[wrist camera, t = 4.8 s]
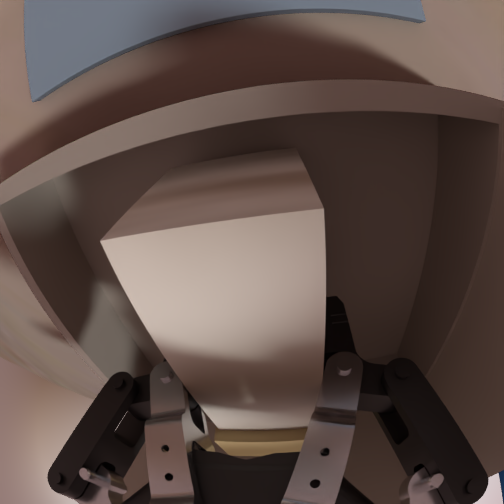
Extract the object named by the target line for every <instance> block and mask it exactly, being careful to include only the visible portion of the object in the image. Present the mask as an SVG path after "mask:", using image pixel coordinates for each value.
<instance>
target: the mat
mask: <svg viewBox="0 0 504 504" xmlns="http://www.w3.org/2000/svg"><path fill="white" fill-rule="evenodd" d="M290 13H351V14H363V15H373V16H381V17H388V18H395V19H401V20H406V21H411V22H416V23H422V22H425V21H426V19H425V15H424V11H423V8H422V4H421V0H25V3H24V37H25V53H26V63H27V72H28V80H29V86H30V92H31V98H32V102H36V101H40V100H41V99H43V98H44V97H46V96H47V95H49V94H50V93H52V92H53V91H55V90H56V89H58V88H60V87H61V86H63V85H64V84H66V83H68V82H69V81H71V80H73V79H75V78H76V77H78V76H80V75H82V74H83V73H85V72H87V71H89V70H91V69H93V68H95V67H97V66H99V65H101V64H103V63H105V62H107V61H109V60H111V59H113V58H115V57H117V56H120V55H122V54H124V53H127V52H129V51H131V50H134V49H136V48H139V47H141V46H144V45H146V44H149V43H152V42H155V41H157V40H160V39H163V38H166V37H169V36H172V35H176V34H179V33H182V32H186V31H189V30H193V29H197V28H201V27H205V26H209V25H213V24H218V23H223V22H228V21H233V20H239V19H245V18H251V17H259V16H267V15H277V14H290Z"/></svg>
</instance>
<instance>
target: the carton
mask: <svg viewBox="0 0 504 504" xmlns="http://www.w3.org/2000/svg"><path fill="white" fill-rule="evenodd" d="M287 148H296V149H297V151H298V153H299V156H300V158H301V160H302V162H303V164H304V166H305V168H306V170H307V172H308V174H309V176H310V179H311V181H312V183H313V185H314V187H315V190H316V192H317V194H318V196H319V198H320V201H321V203H322V205H323V208H324V220H325V248H326V296H327V297H331V296H337V297H338V298H339V299H340V300H341V301H342V302H343V303H344V307H345V310H346V315H347V318H348V322H349V325H350V329H351V333H352V337H353V341H354V345H355V349H356V352H357V354H358V355H359V356H360V357H361V358H362V359H363V360H365V361H367V362H370V363H374V364H384V365H387V364H388V363H389V362H390V361H392V360H393V359H396V358H407V359H410V360H411V361H413V362H414V363H415V364H416V365H417V366H418V368H419V369H420V371H421V372H422V373H423V375H424V376H425V378H426V379H427V380H428V382H429V383H430V385H431V386H432V387H433V389H434V390H435V392H436V393H437V395H438V396H439V397H440V399H441V400H442V402H443V403H444V405H445V406H446V408H447V409H448V411H449V412H450V414H451V415H452V417H453V418H454V420H455V421H456V423H457V424H458V426H459V428H460V429H461V431H462V432H463V434H464V436H465V437H466V439H467V440H468V442H469V444H470V445H471V447H472V449H473V450H474V452H475V454H476V455H477V457H478V459H479V460H480V462H481V464H482V466H483V467H484V469H485V471H486V473H487V475H488V477H490V476H492V475H494V474H497V473H499V472H501V471H503V470H504V101H501V100H497V99H494V98H490V97H487V96H483V95H479V94H475V93H471V92H466V91H461V90H457V89H451V88H446V87H440V86H433V85H426V84H419V83H410V82H399V81H386V80H361V79H338V80H313V81H298V82H287V83H278V84H270V85H262V86H255V87H249V88H243V89H237V90H231V91H226V92H221V93H216V94H212V95H207V96H203V97H199V98H194V99H190V100H187V101H183V102H179V103H175V104H172V105H168V106H165V107H162V108H158V109H155V110H152V111H149V112H146V113H143V114H140V115H137V116H134V117H131V118H129V119H126V120H123V121H120V122H118V123H115V124H113V125H110V126H108V127H105V128H103V129H100V130H98V131H96V132H93V133H91V134H89V135H86V136H84V137H82V138H80V139H78V140H76V141H73V142H71V143H69V144H67V145H65V146H63V147H61V148H59V149H57V150H55V151H54V152H52V153H50V154H48V155H46V156H44V157H42V158H41V159H39V160H37V161H35V162H34V163H32V164H30V165H28V166H27V167H25V168H23V169H22V170H20V171H19V172H17V173H15V174H14V175H12V176H11V177H9V178H8V179H6V180H5V181H3V182H2V183H0V233H1V235H2V237H3V239H4V241H5V243H6V245H7V247H8V250H9V251H10V253H11V255H12V257H13V259H14V261H15V263H16V265H17V267H18V268H19V270H20V272H21V274H22V276H23V277H24V279H25V281H26V282H27V284H28V286H29V287H30V289H31V291H32V292H33V294H34V295H35V297H36V298H37V300H38V302H39V303H40V305H41V306H42V308H43V309H44V311H45V312H46V313H47V315H48V316H49V318H50V319H51V320H52V322H53V323H54V325H55V326H56V327H57V329H58V330H59V331H60V333H61V334H62V335H63V337H64V338H65V339H66V340H67V342H68V343H69V344H70V345H71V347H72V348H73V349H74V350H75V351H76V353H77V354H78V355H79V356H80V357H81V359H82V360H83V361H84V362H85V363H86V364H87V365H88V367H89V368H90V369H91V370H92V371H93V372H94V373H95V374H96V375H97V376H98V377H99V378H100V380H101V381H102V382H103V383H104V384H106V383H107V381H108V380H109V378H110V377H111V376H112V375H114V374H115V373H117V372H122V371H124V372H128V373H129V374H130V375H131V376H132V377H133V378H135V377H139V376H144V375H148V374H151V371H152V370H153V368H154V367H155V366H156V365H158V364H159V363H162V362H163V361H164V358H165V357H164V356H163V354H162V353H161V351H160V350H159V348H158V346H157V345H156V343H155V342H154V340H153V339H152V337H151V335H150V334H149V332H148V331H147V329H146V327H145V326H144V324H143V322H142V321H141V319H140V317H139V316H138V314H137V312H136V310H135V309H134V307H133V305H132V303H131V302H130V300H129V298H128V296H127V294H126V292H125V291H124V289H123V287H122V285H121V283H120V281H119V279H118V277H117V275H116V273H115V271H114V269H113V267H112V265H111V263H110V261H109V259H108V257H107V255H106V253H105V251H104V249H103V246H102V244H101V242H100V240H101V239H102V238H103V237H104V236H105V235H106V233H107V232H108V231H109V230H110V229H111V228H112V227H113V226H114V225H115V224H116V222H117V221H118V220H119V219H120V218H121V217H122V216H123V215H124V214H125V213H126V212H127V211H128V210H129V209H130V208H131V207H132V206H133V205H134V204H135V203H136V202H137V201H138V200H139V199H140V198H141V197H142V196H143V195H144V194H145V193H146V192H147V191H148V190H149V189H150V188H151V187H152V186H153V185H154V184H155V183H156V182H157V181H158V180H159V179H160V178H161V177H162V176H164V175H165V174H166V173H167V172H168V171H169V170H170V169H171V168H175V167H180V166H184V165H189V164H194V163H199V162H204V161H209V160H214V159H220V158H225V157H231V156H237V155H243V154H250V153H256V152H263V151H271V150H279V149H287ZM204 413H205V412H204ZM205 419H206V424H207V429H208V434H209V437H210V439H211V441H212V443H213V446H214V449H215V452H220V453H223V454H227V453H226V452H225V451H224V450H223V449H222V448H221V447H220V446H219V445H218V444H217V443H216V442H215V441H214V436H215V429H216V425H215V424H214V423H213V421H212V420H211V419H210V418H209V417H208V415H207V414H206V413H205ZM227 455H228V454H227ZM234 457H237V458H241V459H252V458H256V457H261V456H234ZM343 476H344V477H345V478H346V479H347V480H348V481H349V482H350V483H351V484H352V485H354V486H355V487H356V488H357V489H358V490H359V491H360V492H362V493H363V494H364V495H365V496H366V497H367V498H369V499H370V500H371V501H372V502H373V503H375V504H400V503H401V502H400V497H399V488H400V485H401V484H402V482H403V481H404V479H405V478H407V477H408V476H407V474H406V472H405V470H404V469H403V467H402V465H401V463H400V461H399V459H398V457H397V455H396V454H395V452H394V450H393V448H392V446H391V444H390V443H389V441H388V439H387V437H386V435H385V433H384V432H383V430H382V428H381V426H380V424H379V423H378V421H377V419H376V417H375V416H374V414H373V412H369V411H360V410H357V411H356V424H355V429H354V434H353V439H352V443H351V447H350V452H349V456H348V460H347V464H346V468H345V471H344V475H343ZM123 480H124V482H125V485H126V486H127V492H126V493H125V494H123V502H124V501H125V500H126V499H128V498H129V497H130V496H132V495H133V494H134V493H136V492H137V491H138V490H139V489H141V488H142V487H143V486H144V485H146V484H147V483H148V482H149V476H148V467H147V456H146V443H144V444H143V446H142V448H141V449H140V451H139V453H138V455H137V456H136V458H135V460H134V461H133V463H132V465H131V467H130V468H129V470H128V472H127V473H126V475H125V477H124V479H123Z"/></svg>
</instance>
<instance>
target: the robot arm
mask: <svg viewBox="0 0 504 504" xmlns="http://www.w3.org/2000/svg"><path fill="white" fill-rule="evenodd" d="M357 410H360V411H369V412H373V414H374V416H375V417H376V419H377V421H378V423H379V424H380V426H381V428H382V430H383V432H384V433H385V435H386V437H387V439H388V441H389V443H390V444H391V446H392V448H393V450H394V452H395V454H396V455H397V457H398V459H399V461H400V463H401V465H402V467H403V469H404V470H405V472H406V474H407V476H408V477H407V478H405V479H404V481H403V482H402V484H401V485H400V488H399V497H400V502H401V503H400V504H473V503H475V502H476V501H478V500H479V499H480V498H481V497H482V496H483V494H484V493H485V491H486V488H487V486H488V475H487V473H486V471H485V469H484V467H483V466H482V464H481V462H480V460H479V459H478V457H477V455H476V454H475V452H474V450H473V449H472V447H471V445H470V444H469V442H468V440H467V439H466V437H465V436H464V434H463V432H462V431H461V429H460V428H459V426H458V424H457V423H456V421H455V420H454V418H453V417H452V415H451V414H450V412H449V411H448V409H447V408H446V406H445V405H444V403H443V402H442V400H441V399H440V397H439V396H438V395H437V393H436V392H435V390H434V389H433V387H432V386H431V385H430V383H429V382H428V380H427V379H426V378H425V376H424V375H423V373H422V372H421V371H420V369H419V368H418V366H417V365H416V364H415V363H414V362H413V361H411V360H410V359H407V358H396V359H393V360H392V361H390V362H389V363H388V364H387V365H384V364H374V363H370V362H367V361H365V360H363V359H362V358H361V357H360V356H359V355H358V354H357V352H356V349H355V345H354V341H353V337H352V333H351V329H350V325H349V322H348V318H347V315H346V310H345V307H344V303H343V302H342V301H341V300H340V299H339V298H338V297H337V296H331V297H327V296H326V320H325V347H324V366H323V380H322V383H321V387H320V391H319V395H318V399H317V403H316V406H315V410H314V412H313V413H312V416H311V419H310V422H309V425H308V429H307V432H306V435H305V438H304V442H303V445H302V448H301V451H300V452H286V453H273V454H269V455H265V456H261V457H256V458H252V459H241V458H237V457H234V456H230V455H227V454H223V453H220V452H215V449H214V446H213V443H212V441H211V439H210V437H209V434H208V429H207V424H206V419H205V413H204V410H203V409H202V408H201V407H200V405H199V404H198V403H197V402H196V400H195V399H194V398H193V396H192V395H191V394H190V392H189V391H188V390H187V388H186V387H185V386H184V384H183V383H182V382H181V380H180V379H179V377H178V376H177V375H176V373H175V372H174V370H173V369H172V367H171V366H170V364H169V363H168V362H167V360H166V359H165V358H164V361H163V362H162V363H159V364H158V365H156V366H155V367H154V368H153V370H152V371H151V374H148V375H144V376H139V377H135V378H133V377H132V376H131V375H130V374H129V373H128V372H124V371H122V372H117V373H115V374H114V375H112V376H111V377H110V378H109V380H108V381H107V383H106V384H105V385H104V387H103V388H102V390H101V391H100V393H99V394H98V396H97V397H96V398H95V400H94V401H93V403H92V404H91V406H90V407H89V409H88V410H87V412H86V413H85V415H84V416H83V418H82V419H81V421H80V422H79V424H78V425H77V427H76V428H75V430H74V431H73V433H72V434H71V436H70V438H69V439H68V441H67V442H66V444H65V445H64V447H63V449H62V450H61V452H60V453H59V455H58V456H57V458H56V460H55V461H54V463H53V464H52V466H51V468H50V469H49V472H48V482H49V485H50V487H51V488H52V489H53V490H54V491H55V492H57V493H60V494H62V495H65V496H68V497H69V498H71V499H74V500H76V501H77V502H78V503H79V504H375V503H373V502H372V501H371V500H370V499H369V498H367V497H366V496H365V495H364V494H363V493H362V492H360V491H359V490H358V489H357V488H356V487H355V486H354V485H352V484H351V483H350V482H349V481H348V480H347V479H346V478H345V477H344V476H343V475H344V471H345V468H346V464H347V460H348V456H349V452H350V447H351V443H352V439H353V434H354V429H355V424H356V411H357ZM127 411H128V412H127ZM126 412H127V413H126ZM125 413H126V415H125ZM124 415H125V417H124ZM123 417H124V418H123ZM122 418H123V420H122ZM121 420H122V421H121ZM120 421H121V423H120ZM119 423H120V424H119ZM118 425H119V426H118ZM117 426H118V428H117ZM116 428H117V429H116ZM115 429H116V431H115ZM144 443H146V456H147V467H148V476H149V482H148V483H147V484H146V485H144V486H143V487H142V488H141V489H139V490H138V491H137V492H136V493H134V494H133V495H132V496H130V497H129V498H128V499H126V500H125V501H124V502H123V494H125V493H126V492H127V486H126V485H125V482H124V480H123V479H124V477H125V475H126V473H127V472H128V470H129V468H130V467H131V465H132V463H133V461H134V460H135V458H136V456H137V455H138V453H139V451H140V449H141V448H142V446H143V444H144Z"/></svg>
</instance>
